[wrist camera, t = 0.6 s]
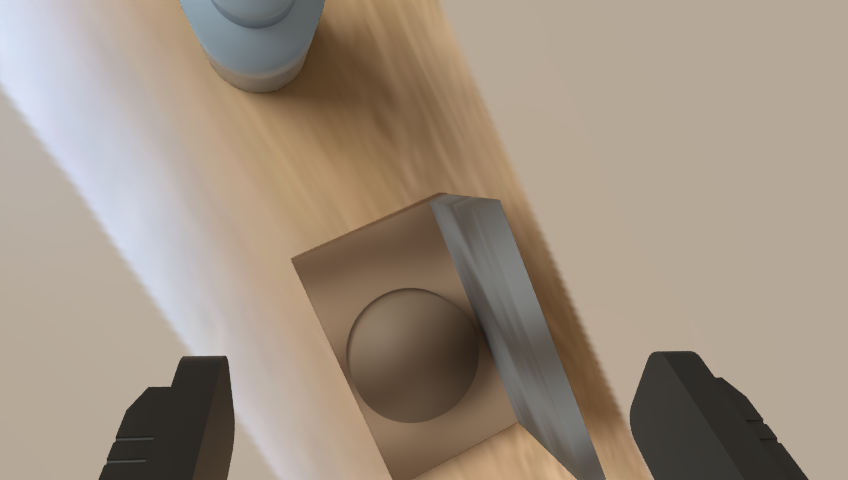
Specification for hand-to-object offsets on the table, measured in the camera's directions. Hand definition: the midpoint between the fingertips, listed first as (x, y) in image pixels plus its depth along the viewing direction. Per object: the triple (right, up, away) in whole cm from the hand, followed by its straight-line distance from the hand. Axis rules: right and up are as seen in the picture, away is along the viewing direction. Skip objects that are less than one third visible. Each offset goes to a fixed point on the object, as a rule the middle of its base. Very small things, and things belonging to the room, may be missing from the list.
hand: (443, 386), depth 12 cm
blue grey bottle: (-9, +13, +20) cm, 25 cm away
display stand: (-1, -3, +23) cm, 24 cm away
